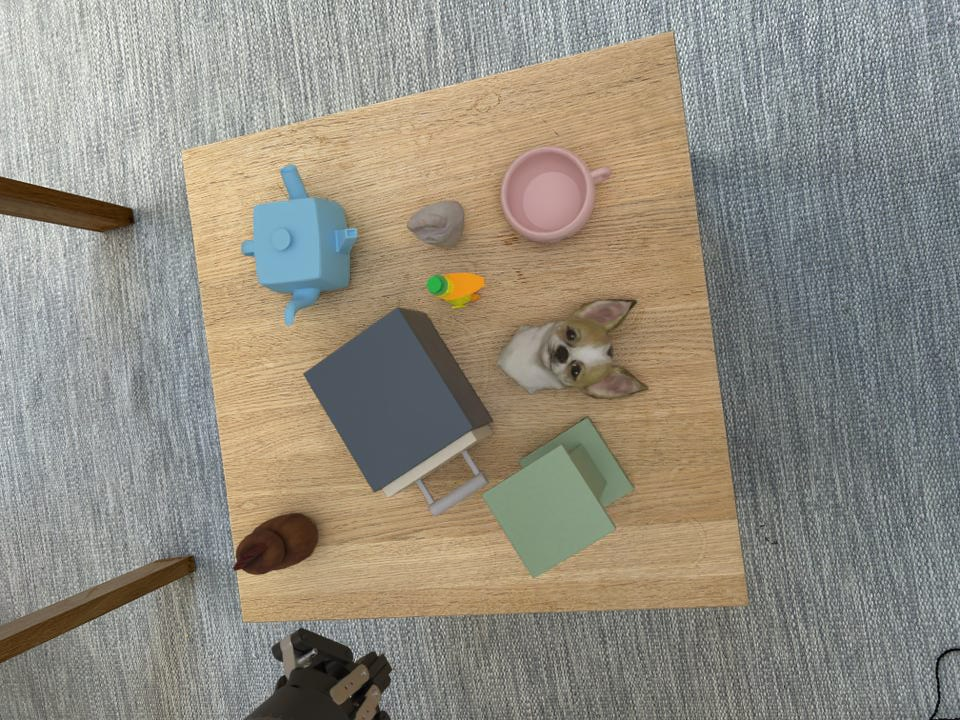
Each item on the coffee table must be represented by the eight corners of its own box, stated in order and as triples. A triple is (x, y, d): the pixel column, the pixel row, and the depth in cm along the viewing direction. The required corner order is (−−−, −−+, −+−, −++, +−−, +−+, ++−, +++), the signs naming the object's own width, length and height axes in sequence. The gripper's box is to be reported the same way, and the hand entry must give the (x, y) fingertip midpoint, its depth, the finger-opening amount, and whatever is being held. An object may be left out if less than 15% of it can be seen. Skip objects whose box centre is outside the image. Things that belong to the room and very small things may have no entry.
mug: (525, 261, 85) (515, 254, 79) (496, 178, 86) (484, 165, 80) (629, 220, 82) (627, 210, 77) (598, 135, 83) (593, 119, 77)
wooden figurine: (318, 502, 91) (252, 529, 76) (332, 549, 90) (268, 585, 76) (268, 517, 92) (194, 546, 78) (282, 564, 92) (210, 602, 77)
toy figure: (499, 273, 86) (473, 259, 74) (503, 305, 86) (478, 296, 74) (441, 282, 87) (407, 270, 76) (445, 313, 87) (412, 306, 76)
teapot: (267, 184, 92) (220, 163, 83) (377, 169, 89) (342, 145, 79) (277, 333, 92) (231, 330, 82) (387, 324, 89) (353, 319, 79)
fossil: (466, 205, 87) (441, 185, 77) (483, 230, 86) (460, 213, 76) (425, 235, 88) (395, 219, 78) (441, 260, 87) (413, 247, 78)
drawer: (514, 466, 84) (499, 477, 77) (431, 519, 87) (409, 534, 79) (429, 331, 87) (407, 329, 79) (350, 386, 89) (321, 388, 81)
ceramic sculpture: (487, 310, 77) (638, 289, 74) (499, 314, 85) (635, 296, 83) (500, 415, 77) (652, 398, 74) (511, 410, 85) (648, 394, 83)
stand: (634, 487, 82) (625, 532, 61) (564, 529, 84) (531, 587, 63) (588, 416, 83) (563, 435, 62) (520, 459, 85) (472, 492, 64)
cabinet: (493, 420, 86) (473, 428, 77) (404, 478, 88) (373, 492, 79) (425, 312, 88) (397, 306, 78) (339, 372, 90) (302, 373, 81)
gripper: (164, 711, 45) (300, 615, 62) (276, 920, 43) (384, 763, 60) (261, 650, 44) (373, 569, 61) (381, 864, 42) (461, 720, 59)
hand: (378, 666), depth 60 cm, fingers closed
